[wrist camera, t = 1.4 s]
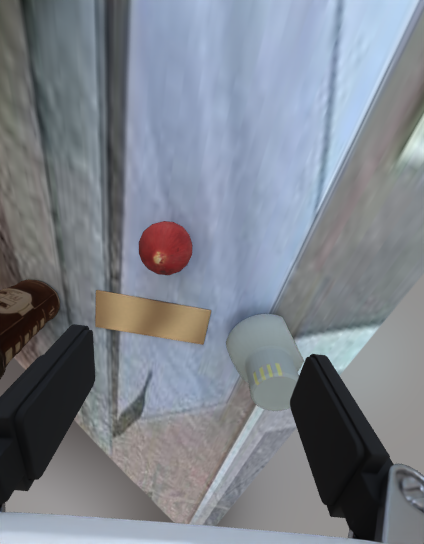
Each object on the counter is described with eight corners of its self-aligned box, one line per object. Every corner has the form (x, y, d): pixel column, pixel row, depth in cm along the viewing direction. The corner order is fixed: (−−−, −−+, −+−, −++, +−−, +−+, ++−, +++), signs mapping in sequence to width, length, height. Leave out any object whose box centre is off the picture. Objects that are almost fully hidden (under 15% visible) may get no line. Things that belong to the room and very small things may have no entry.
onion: (192, 263, 30) (186, 292, 23) (148, 259, 30) (127, 286, 23) (196, 219, 28) (190, 235, 21) (148, 213, 28) (125, 227, 21)
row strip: (96, 325, 34) (95, 326, 34) (96, 289, 32) (95, 290, 32) (203, 343, 35) (203, 344, 35) (211, 310, 33) (211, 311, 33)
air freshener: (219, 320, 34) (221, 374, 25) (271, 296, 32) (295, 345, 23) (250, 370, 37) (263, 434, 28) (299, 351, 36) (329, 412, 27)
